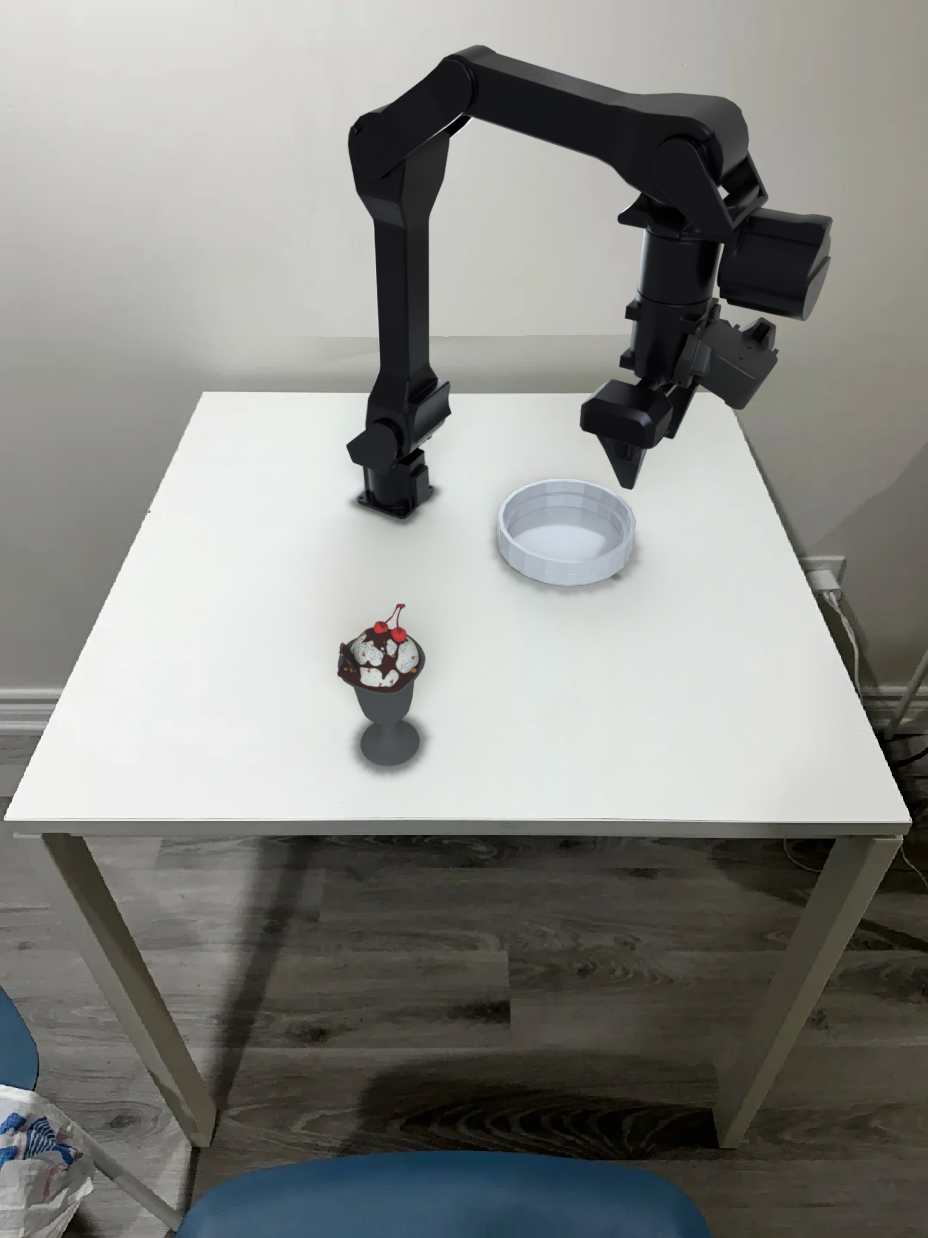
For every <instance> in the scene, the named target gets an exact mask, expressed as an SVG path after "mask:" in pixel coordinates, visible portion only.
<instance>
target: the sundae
mask: <svg viewBox="0 0 928 1238" xmlns="http://www.w3.org/2000/svg"><path fill="white" fill-rule="evenodd" d="M405 608H406V603H396V605H395V609H394V611H393V612H392V615H391V616H390V617H388V618H387V619H386V620H385V621H384V620H383V621H382V620H378V621H376V622H375V623H374V625H373V626H372V627H368V628H366V629H364V630H363V631H362V632H361V633H360V634H359V635H358V636H357V637H355V638H353V639H351V640H350V641H348V642H347V643H344V642H341V643H340V645H339V651H338V653H339V657H338V661H337V673H336V675H337V677H339V678H341V680H342V681H343V682H344V683H346V684H347V685H349V686H350V687H352V688H353V690H354V692H355V696H356V699H357V702H358V705H359V708H360V709H361V711H362V714H363V715H364V717H365V718H366V719H368V720H369V721H370V722H372V723H373V724H372V725H370V726H369V727H367V729H366V730H365V731H364V732H363V734H362V736H361V739H360V749H361V752H362V754H363V755H364V757H365V758H366V759H367V760H368V761H370V762H371V763H373V764H375V765H378V766H383V767H394V766H398V765H399V766H400V765H401V764H404V763H406V762H408V761H409V760H410V759H412V758H413V757H414V756H415V755H416V753H417V751H418V750H419V746H420V736H419V733H418V731H417V729H416V728H415V727H414V726H413V725H411V724H410V723H408V722H407V721H404V720H403V719H405V717H406V716H407V715H408V714H409V712H410V709H411V706H412V702H413V698H414V697H413V696H414V690H415V689H414V688H415V681H416V680H417V678H418V677H419V676H420V674H421V673H422V671H423V669H424V668H425V664H426V660H427V659H426V655H425V652H424V650H423V648H422V646H421V645H420V643H419V642H418V641H416V639H415V638H414V637H412V636H411V635H409V634H407V629H405V628H404V627H401V626H400V624H399V623H400V622H399V620H400V619H399V618H400V614H401V611H403V610H404V609H405ZM398 609H399V610H398ZM397 610H398V612H397ZM396 612H397V615H396V620H395V621H396V622H395V623H396V626H395V627H393V628H389V625H388V622H389V621H391V620H392V618H393V617H394V615H395V614H396Z"/></svg>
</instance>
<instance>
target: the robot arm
mask: <svg viewBox="0 0 928 1238" xmlns="http://www.w3.org/2000/svg"><path fill="white" fill-rule="evenodd" d="M473 119H476V120H479V121H482V122H485V123H488V124H491V125H494V126H497V127H500V128H504V129H506V130H509V131H513V132H515V133H518V134H521V135H525V136H527V137H531V138H534V139H537V140H540V141H542V142H546V143H549V144H551V145H555V146H558V147H561V148H564V149H567V150H570V151H573V152H576V153H579V154H581V155H585V156H587V157H591V158H594V159H596V160H598V161H600V162H602V163H604V164H605V165H607V166H609V167H610V168H611V169H612V170H613V171H614V172H615V173H616V174H617V175H618V176H619V177H620V178H621V179H622V180H623V181H624V183H626V184H627V185H628V186H629V187H630V188H633V189H634V190H637V191H638V192H639V195H638V197H637V198H636V199H635V200H634V201H633V203H632V204H630V205H629V206H628V207H626V208H625V209H623V211H621V212H619V213H618V214H617V216H616V221H617V222H618V224H620V225H623V226H627V227H634V228H638V229H643V237H642V245H641V252H640V253H641V254H640V260H639V261H640V262H639V269H638V279H637V286H636V294H635V297H634V298H633V299H632V300H631V301H630V302H628V303H627V305H625V311H624V312H625V314H624V319H625V320H629V321H632V326H631V334H630V336H631V337H630V344H629V346H628V347H627V348H626V349H625V350H624V351H623V352H622V353H621V354H620V355H619V364H618V367H619V368H622V369H625V370H628V371H633V375H634V376H635V377H637V378H639V381H638V382H637V383H636V384H633V383H630V382H625V381H622V380H618V379H615V378H610V379H609V380H607V381H605V382H604V383H602V384H601V385H600V386H598V388H597V389H596V390H595V391H593V392H592V393H591V394H590V396H588V398H587V399H585V400H584V401H583V403H582V404H581V405H580V413H579V414H580V415H579V427H580V429H581V430H582V431H583V432H584V433H589V434H593V435H595V436H596V438H597V440H598V442H599V443H600V445H601V447H602V449H603V451H604V453H605V455H606V457H607V459H608V461H609V463H610V466H611V468H612V471H613V473H614V475H615V478H616V479H617V481H618V484H619V486H620V487H621V488H623V489H626V490H628V491H632V490H634V488H635V486H636V484H637V480H638V478H639V477H640V476H639V475H640V473H641V469H642V466H643V463H644V460H645V458H646V456H647V455H646V454H647V451H648V450H652V449H654V448H655V447H657V446H658V445H659V444H660V443H661V441H662V440H663V439H664V438H666V439H669V440H674V439H675V438H676V436H677V434H678V433H679V432H678V431H679V429H680V427H681V426H682V422H683V420H684V418H685V416H686V415H687V412H688V410H689V408H690V406H691V403H692V401H693V399H694V397H695V394H696V393H697V390H698V388H699V386H701V387H703V389H705V390H707V391H708V392H710V393H712V394H713V395H715V396H716V397H718V398H720V399H721V400H723V401H724V402H723V403H724V404H725V405H726V406H728V407H729V408H731V409H733V410H735V411H736V410H737V411H741V410H744V409H745V408H746V407H747V405H748V404H749V403H750V401H751V400H752V398H754V396H755V394H756V393H757V392H758V390H759V389H760V388H761V386H762V385H763V383H764V382H765V381H766V379H767V378H768V377H769V375H770V374H771V372H772V371H773V369H774V368H775V366H776V365H777V364H778V361H779V360H778V359H779V358H778V356H777V355H778V353H779V352H780V350H779V349H778V348H776V347H775V342H776V332H777V326H776V324H775V323H773V322H771V321H770V320H769V319H766V318H765V317H763V316H760V317H758V318H756V319H755V320H752V321H751V322H750V323H748V324H746V325H745V326H743V327H742V328H741V325H740V324H738V323H735V324H734V326H732V324H731V323H730V321H729V320H728V319H724V318H720V317H721V311H722V304H720V303H719V302H720V299H723V300H726V303H727V305H730V306H733V307H738V308H743V309H747V310H750V311H751V310H752V311H755V312H760V313H765V314H770V315H774V316H778V317H783V318H788V319H792V320H797V321H801V322H806V321H807V320H808V319H809V317H810V316H811V314H812V312H813V311H814V308H815V307H816V304H817V302H818V299H819V297H820V295H821V293H822V289H823V286H824V284H825V280H826V277H827V275H828V271H829V268H830V263H831V259H832V256H830V251H831V243H832V238H831V235H830V233H831V230H832V226H833V222H834V219H833V218H832V216H831V215H830V216H829V215H824V214H817V213H809V214H801V213H800V214H799V213H794V212H788V211H784V210H778V209H777V210H776V209H772V208H766V207H763V206H764V205H765V204H766V203H768V201H769V194H768V192H767V190H766V187H765V185H764V183H763V179H762V178H761V176H760V174H759V172H758V169H757V167H756V164H755V163H754V160H753V158H752V155H751V153H750V151H749V144H750V134H749V128H748V127H749V126H748V124H747V122H746V120H745V117H744V115H743V110H742V109H741V107H739V106H738V105H737V104H736V103H735V102H734V101H732V100H731V99H728V98H727V97H724V96H720V95H719V96H718V95H712V94H698V93H686V92H685V93H684V92H663V93H634V92H627V91H622V90H619V89H616V88H613V87H610V86H606V85H603V84H600V83H597V82H593V81H590V80H586V79H583V78H580V77H576V76H574V75H570V74H567V73H564V72H560V71H557V70H554V69H550V68H547V67H543V66H540V65H537V64H534V63H530V62H527V61H524V60H521V59H517V58H514V57H511V56H508V55H504V54H500V53H497V52H496V50H493V49H492V48H490V47H488V46H486V45H484V44H474V45H471V46H469V47H466V48H464V49H461V50H459V51H455V52H453V53H451V54H449V55H446V56H444V57H443V58H442V59H441V60H440V61H439V62H438V64H437V65H436V66H435V67H434V68H433V69H432V70H431V71H430V72H429V73H427V75H426V76H424V78H422V79H421V80H420V81H418V82H417V83H416V84H414V85H413V86H411V88H409V89H408V90H407V91H405V92H404V93H403V94H401V95H400V96H399V97H398V98H397V99H394V101H392V102H390V103H387V104H384V105H382V106H380V107H378V108H375V109H373V110H371V111H368V112H365V113H363V114H362V115H360V116H358V118H357V119H356V121H355V122H354V123H353V124H352V125H351V126H350V127H349V131H348V135H347V152H348V158H349V162H350V163H349V164H350V167H351V168H350V169H351V173H352V179H353V183H354V189H355V192H356V194H357V196H358V197H359V200H360V201H361V202H362V204H363V206H364V207H365V209H366V211H367V212H368V214H369V216H370V217H371V219H372V226H373V248H374V268H375V269H374V271H375V291H376V293H375V294H376V315H377V336H378V356H379V357H378V358H379V369H378V372H377V375H376V377H375V380H374V382H373V385H372V387H371V390H370V391H369V395H368V398H367V402H366V410H365V420H364V430H363V431H362V432H360V433H359V434H358V435H356V436H355V437H354V438H353V439H352V440H350V441H349V442H347V443H346V445H345V447H346V450H347V452H348V455H349V458H350V460H351V463H353V464H355V465H358V466H360V467H362V475H363V484H364V491H362V492H361V493H360V494H359V495H358V496H357V497H356V503H357V504H359V505H362V506H365V507H367V508H370V509H373V510H375V511H378V512H380V513H384V514H385V515H389V516H390V517H391V516H392V517H394V518H397V519H398V520H399V519H400V520H405V519H407V518H409V517H410V515H411V514H413V512H415V510H416V509H418V508H419V507H420V506H421V505H422V504H423V503H424V502H426V500H427V499H429V498H430V496H431V495H432V494H433V493H434V492H435V486H434V485H431V484H430V477H429V476H430V474H429V473H430V472H429V466H428V465H427V464H426V452H425V450H424V449H423V448H422V449H421V448H420V447H421V446H422V445H423V444H424V443H426V442H427V441H429V440H430V439H432V438H433V435H434V434H435V433H436V432H437V431H438V430H440V429H441V428H442V426H443V425H444V424H445V422H446V419H447V418H448V417H449V416H450V415H451V414H452V409H451V407H450V401H449V398H450V391H451V382H450V381H449V380H446V379H440V378H439V377H438V375H437V373H436V372H435V371H434V369H433V367H432V366H431V363H430V217H431V214H432V210H433V208H434V205H435V203H436V201H437V197H438V196H439V193H440V190H441V188H442V186H443V183H444V181H445V176H446V169H447V162H448V156H449V150H450V149H449V148H450V140H451V139H452V138H453V137H455V136H456V135H457V134H458V133H459V132H460V131H462V130H463V129H464V128H465V127H467V125H469V124H470V122H472V120H473ZM721 187H722V189H723V190H724V191H725V192H726V193H727V195H726V196H724V197H722V196H721V194H720V191H719V189H720V188H721ZM722 245H723V247H722ZM721 251H722V252H721ZM715 282H716V285H717V287H718V288H719V293H718V295H719V297H714V296H713V295H714V288H715ZM740 328H741V329H740ZM774 347H775V348H774ZM582 431H581V432H582Z"/></svg>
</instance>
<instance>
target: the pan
mask: <svg viewBox="0 0 928 1238" xmlns="http://www.w3.org/2000/svg"><path fill="white" fill-rule="evenodd" d="M636 525H637V519H636V516H635V514H634V511H633V508H632V507H631V506H630V505H629V503H627V501H626V500H625V499H624V498H622V496H620V495H619V494H617V493H616V492H614V491H612V490H611V489H609V488H607V487H605V486H603V485H600V484H597V483H593V482H590V481H586V480H581V479H572V478H552V479H551V478H550V479H543V480H539V481H536V482H531V483H528V484H525V485H523V486H521V487H520V488H518V489H516V490H514V491H512V492H511V493H510V494H509V495H508V496H507V497H506V498H505V499H504V500H503V501H502V502H501V504H500V507H499V511H498V514H497V528H496V529H497V531H496V533H497V534H496V538H497V546H498V551H499V553H500V555H501V556H502V557H503V559H504V560H505V561H506V563H507V564H508V565H509V566H510V567H511V568H513V569H514V570H516V571H517V572H518V573H520V574H521V575H523V576H525V577H528V578H530V579H532V580H535V581H538V582H540V583H544V584H550V585H554V586H555V585H556V586H562V587H563V586H565V587H570V586H571V587H573V586H575V587H576V586H585V585H586V586H587V585H592V584H594V583H598V582H601V581H605V580H607V579H609V578H611V577H612V576H614V575H615V574H616V573H618V572H619V571H621V570H622V569H623V568H624V567H625V566H626V564H627V563H628V562H629V560H630V558H631V556H632V551H633V546H634V541H635V540H634V539H635V533H636Z"/></svg>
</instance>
